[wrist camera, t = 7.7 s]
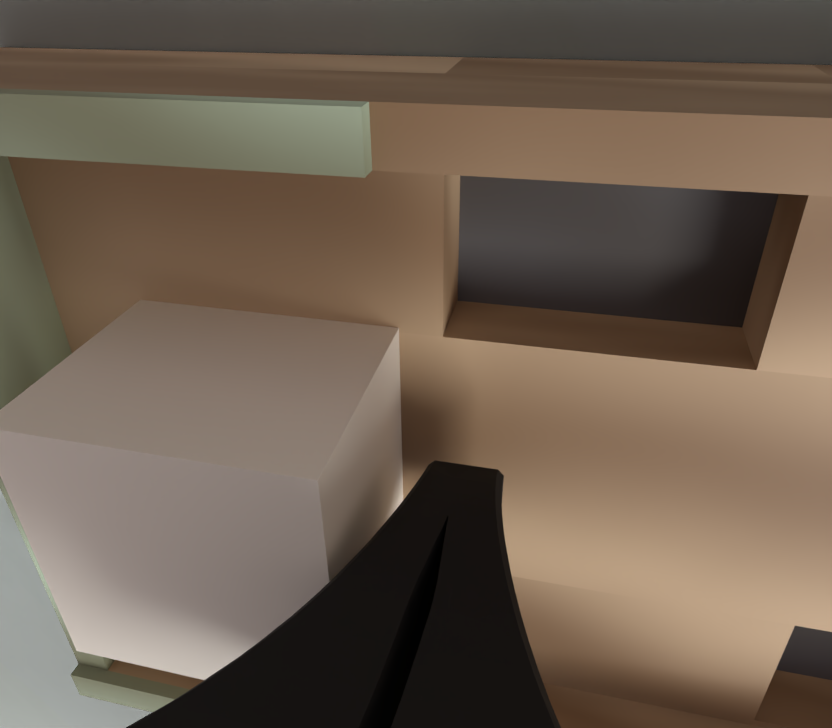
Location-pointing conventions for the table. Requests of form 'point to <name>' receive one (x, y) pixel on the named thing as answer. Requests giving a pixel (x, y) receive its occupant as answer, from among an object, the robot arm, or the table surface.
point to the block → (203, 475)
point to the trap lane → (495, 319)
